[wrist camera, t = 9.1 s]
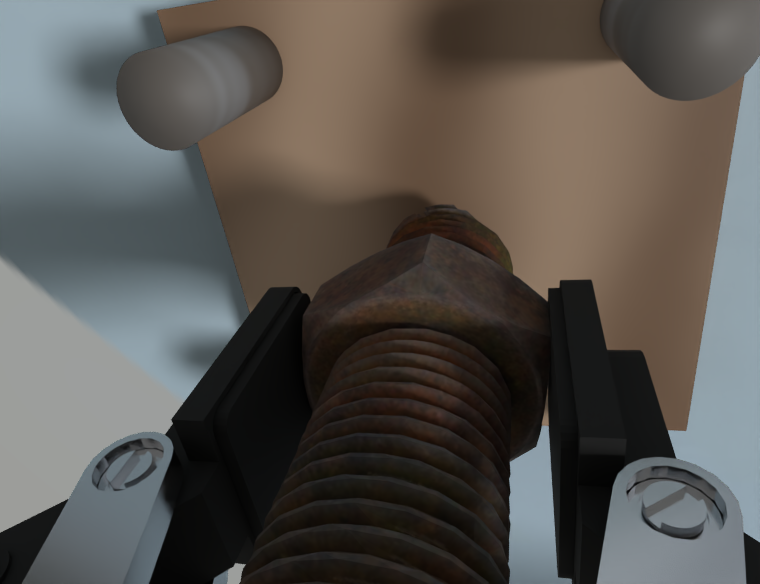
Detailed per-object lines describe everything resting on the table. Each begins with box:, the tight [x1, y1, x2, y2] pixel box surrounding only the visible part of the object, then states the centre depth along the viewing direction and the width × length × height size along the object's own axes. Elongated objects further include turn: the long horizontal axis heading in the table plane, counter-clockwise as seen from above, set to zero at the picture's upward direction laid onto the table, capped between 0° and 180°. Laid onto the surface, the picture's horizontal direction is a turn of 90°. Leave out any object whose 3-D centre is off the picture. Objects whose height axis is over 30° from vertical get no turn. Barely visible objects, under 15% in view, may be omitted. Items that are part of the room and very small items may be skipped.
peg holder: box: [117, 0, 760, 431], centre depth 14 cm, size 13×13×6 cm
